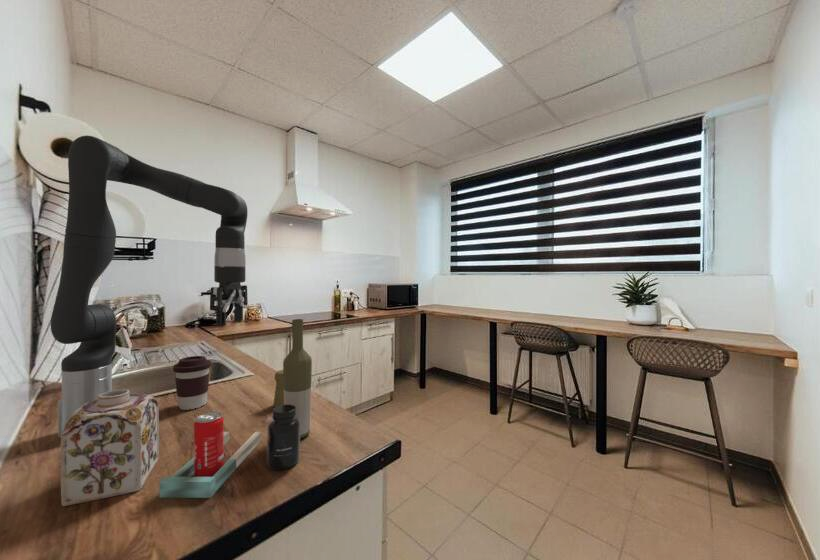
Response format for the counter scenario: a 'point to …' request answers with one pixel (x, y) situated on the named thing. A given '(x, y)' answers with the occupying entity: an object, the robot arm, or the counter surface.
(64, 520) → the counter surface
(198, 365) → the coffee cup
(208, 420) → the beverage can
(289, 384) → the bottle
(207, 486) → the beam
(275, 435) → the supplement bottle
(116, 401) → the decorative jar
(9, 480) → the counter surface
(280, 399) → the cork
